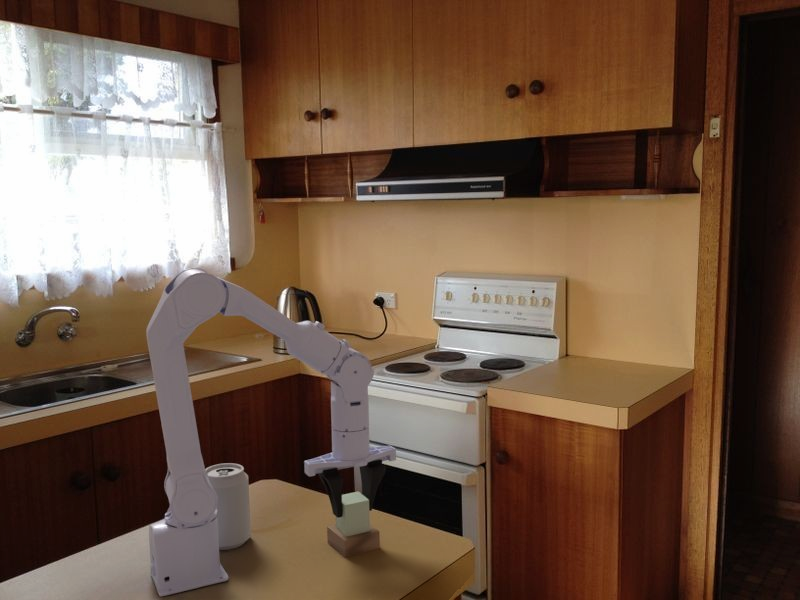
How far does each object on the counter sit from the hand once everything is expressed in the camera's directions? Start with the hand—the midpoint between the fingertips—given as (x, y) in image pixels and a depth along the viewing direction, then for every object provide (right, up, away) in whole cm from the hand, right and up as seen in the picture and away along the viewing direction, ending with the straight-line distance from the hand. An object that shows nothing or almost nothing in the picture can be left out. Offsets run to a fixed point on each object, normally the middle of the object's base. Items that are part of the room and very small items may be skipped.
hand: (352, 511), depth 116 cm
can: (-20, -6, +3) cm, 21 cm away
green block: (0, -3, 0) cm, 3 cm away
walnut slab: (0, -6, +1) cm, 6 cm away
